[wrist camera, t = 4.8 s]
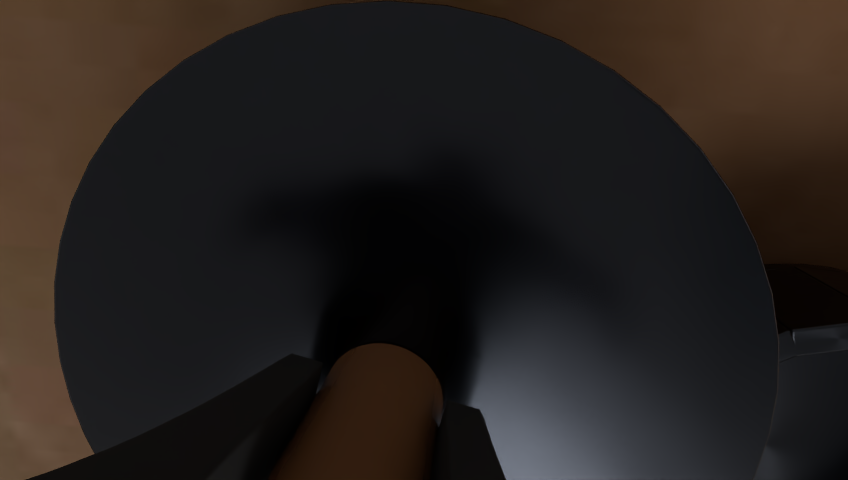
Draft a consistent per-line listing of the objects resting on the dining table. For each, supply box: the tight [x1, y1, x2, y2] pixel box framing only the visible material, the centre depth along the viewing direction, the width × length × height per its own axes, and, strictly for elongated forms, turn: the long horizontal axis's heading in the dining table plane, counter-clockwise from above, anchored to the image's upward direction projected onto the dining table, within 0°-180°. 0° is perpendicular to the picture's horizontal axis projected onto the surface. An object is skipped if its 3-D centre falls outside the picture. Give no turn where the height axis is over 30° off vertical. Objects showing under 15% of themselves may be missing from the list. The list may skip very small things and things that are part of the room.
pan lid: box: [54, 1, 779, 480], centre depth 9 cm, size 15×15×5 cm
